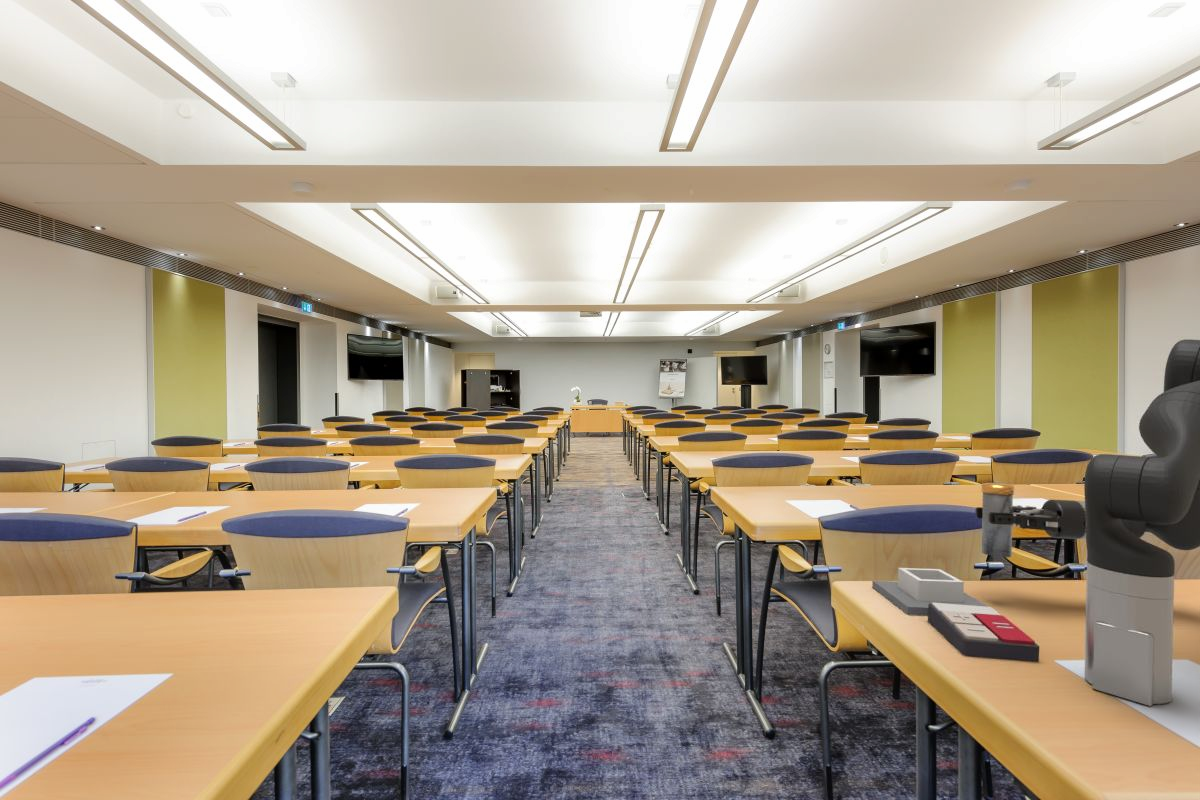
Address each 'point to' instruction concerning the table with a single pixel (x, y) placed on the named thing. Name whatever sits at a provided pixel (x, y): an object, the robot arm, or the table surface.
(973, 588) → the table surface
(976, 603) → the duct collar
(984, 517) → the lidded canister
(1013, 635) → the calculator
